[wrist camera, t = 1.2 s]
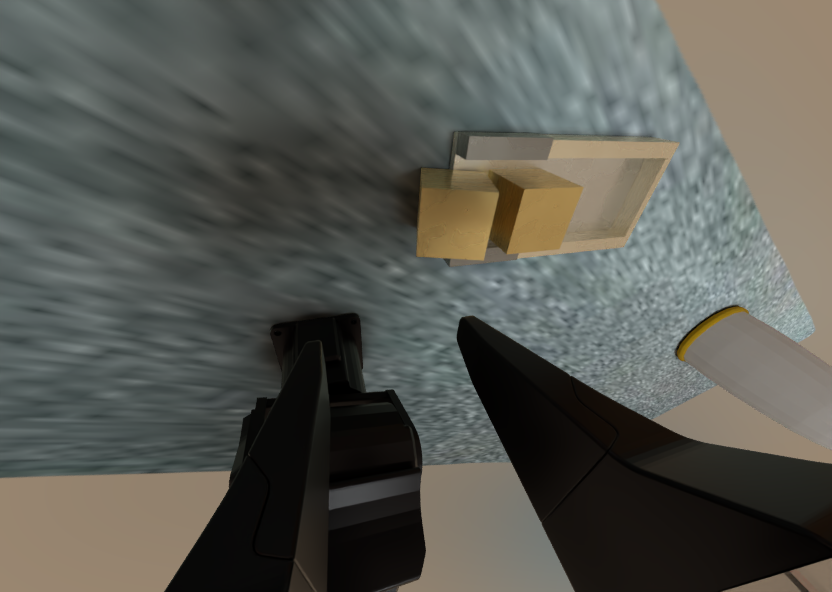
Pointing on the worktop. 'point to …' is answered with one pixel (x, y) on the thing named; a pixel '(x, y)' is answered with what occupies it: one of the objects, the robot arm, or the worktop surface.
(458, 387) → the worktop surface
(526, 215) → the chip
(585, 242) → the slot board
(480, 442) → the worktop surface
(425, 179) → the chip
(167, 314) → the worktop surface
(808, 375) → the soap bottle
